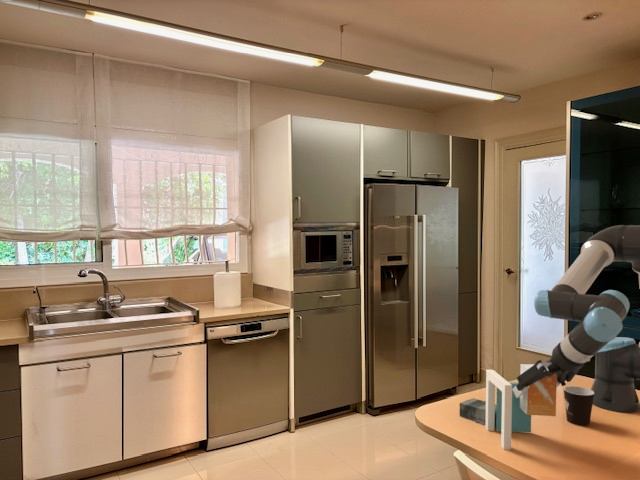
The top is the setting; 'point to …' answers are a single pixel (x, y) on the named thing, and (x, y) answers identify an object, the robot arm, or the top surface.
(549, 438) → the top surface
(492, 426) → the door frame
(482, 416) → the stone block
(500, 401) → the door leaf
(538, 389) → the small box
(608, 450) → the top surface
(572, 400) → the coffee mug
